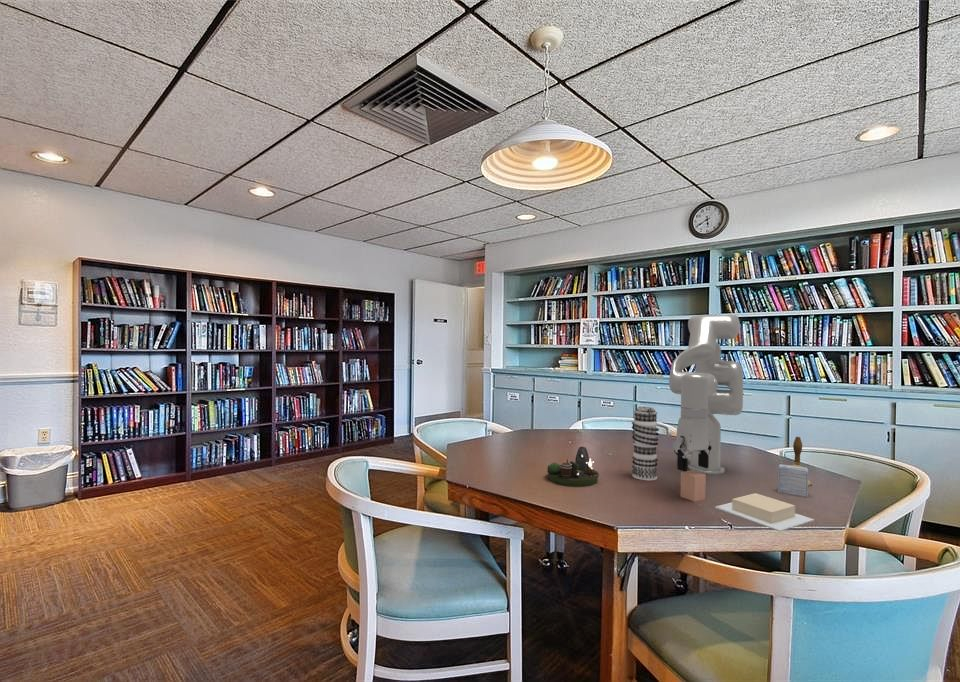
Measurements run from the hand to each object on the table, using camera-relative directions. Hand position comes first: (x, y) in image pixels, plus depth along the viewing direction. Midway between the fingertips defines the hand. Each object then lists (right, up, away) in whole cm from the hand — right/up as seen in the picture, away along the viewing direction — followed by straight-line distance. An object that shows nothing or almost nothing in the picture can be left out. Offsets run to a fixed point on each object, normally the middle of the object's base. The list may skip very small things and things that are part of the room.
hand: (692, 468), depth 139 cm
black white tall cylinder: (-7, -10, +22) cm, 25 cm away
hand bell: (+45, -10, +18) cm, 50 cm away
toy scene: (-33, -10, +19) cm, 40 cm away
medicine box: (+36, -10, +6) cm, 38 cm away
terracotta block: (0, -10, +1) cm, 10 cm away
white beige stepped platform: (+14, -10, -13) cm, 21 cm away
